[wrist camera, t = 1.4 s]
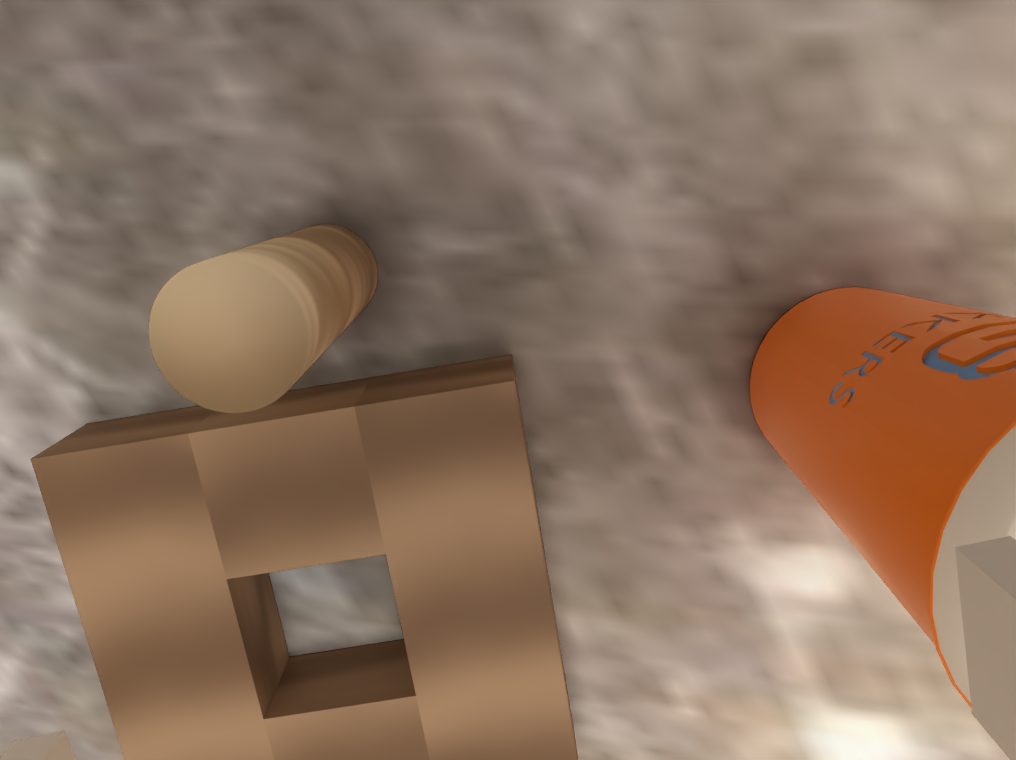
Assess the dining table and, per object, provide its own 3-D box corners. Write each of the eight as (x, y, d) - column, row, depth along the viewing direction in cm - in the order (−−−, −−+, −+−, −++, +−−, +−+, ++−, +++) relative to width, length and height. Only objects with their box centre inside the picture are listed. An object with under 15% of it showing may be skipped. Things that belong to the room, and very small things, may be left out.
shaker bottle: (984, 448, 33) (1700, 854, 13) (759, 523, 33) (1130, 1018, 14) (932, 225, 31) (1685, 320, 11) (693, 309, 31) (1019, 536, 12)
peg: (269, 233, 30) (130, 272, 19) (366, 216, 30) (288, 246, 19) (291, 329, 31) (171, 424, 20) (386, 313, 31) (322, 400, 20)
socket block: (86, 423, 32) (30, 459, 28) (511, 354, 32) (514, 380, 28) (193, 787, 36) (157, 862, 32) (573, 729, 35) (583, 798, 32)
